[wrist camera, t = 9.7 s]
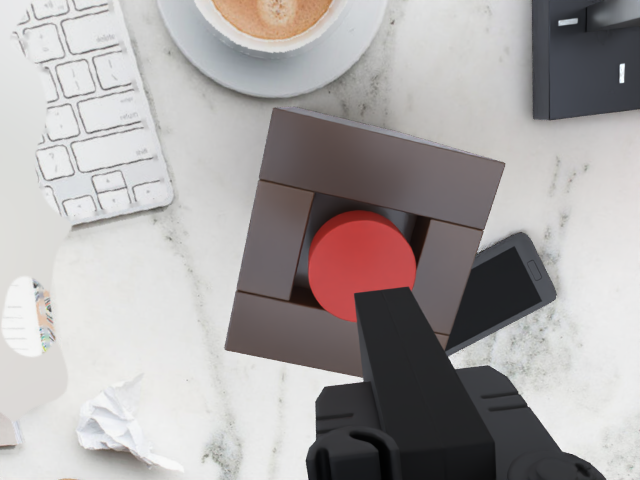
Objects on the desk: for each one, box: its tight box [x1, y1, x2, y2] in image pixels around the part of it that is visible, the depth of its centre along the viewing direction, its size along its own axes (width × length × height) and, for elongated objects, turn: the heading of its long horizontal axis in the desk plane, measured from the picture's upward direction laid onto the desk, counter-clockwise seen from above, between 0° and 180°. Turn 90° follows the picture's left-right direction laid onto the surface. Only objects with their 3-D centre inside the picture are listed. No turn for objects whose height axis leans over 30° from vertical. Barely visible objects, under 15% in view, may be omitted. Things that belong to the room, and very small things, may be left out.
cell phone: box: [445, 232, 557, 356], centre depth 46 cm, size 7×14×1 cm, turn 120°
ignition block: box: [224, 107, 505, 378], centre depth 31 cm, size 10×9×24 cm
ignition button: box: [308, 210, 416, 322], centre depth 19 cm, size 4×4×2 cm
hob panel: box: [532, 0, 640, 120], centre depth 39 cm, size 14×11×3 cm
